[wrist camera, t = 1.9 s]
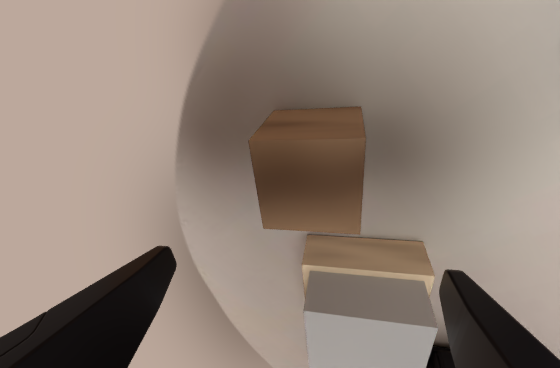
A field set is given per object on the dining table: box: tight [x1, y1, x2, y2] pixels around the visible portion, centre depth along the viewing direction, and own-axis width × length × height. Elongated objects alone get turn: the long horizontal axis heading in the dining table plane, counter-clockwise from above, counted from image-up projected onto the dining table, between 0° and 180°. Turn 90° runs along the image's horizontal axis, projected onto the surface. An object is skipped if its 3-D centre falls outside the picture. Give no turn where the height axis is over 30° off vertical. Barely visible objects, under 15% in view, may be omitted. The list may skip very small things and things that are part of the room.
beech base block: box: [302, 235, 435, 298], centre depth 20 cm, size 8×8×3 cm
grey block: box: [304, 271, 438, 368], centre depth 18 cm, size 7×7×3 cm
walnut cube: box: [248, 107, 366, 234], centre depth 15 cm, size 5×5×5 cm
